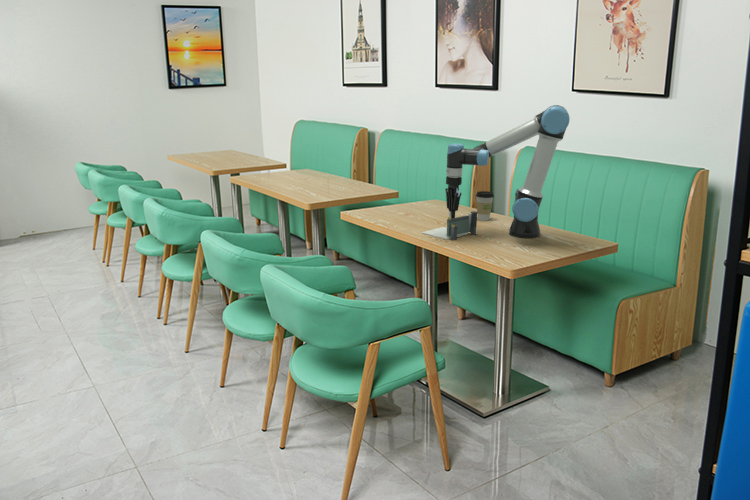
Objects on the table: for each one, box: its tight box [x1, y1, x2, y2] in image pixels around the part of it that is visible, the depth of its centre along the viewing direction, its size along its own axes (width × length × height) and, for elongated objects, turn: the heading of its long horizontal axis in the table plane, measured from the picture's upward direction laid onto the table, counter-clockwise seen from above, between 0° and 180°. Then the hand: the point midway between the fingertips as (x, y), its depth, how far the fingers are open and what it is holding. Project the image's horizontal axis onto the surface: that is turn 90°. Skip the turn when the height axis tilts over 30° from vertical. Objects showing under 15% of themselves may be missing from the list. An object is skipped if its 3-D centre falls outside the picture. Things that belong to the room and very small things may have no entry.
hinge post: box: [469, 210, 478, 236], centre depth 308 cm, size 3×3×12 cm
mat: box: [420, 226, 470, 240], centre depth 312 cm, size 17×17×1 cm
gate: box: [446, 213, 471, 237], centre depth 305 cm, size 16×2×10 cm, turn 129°
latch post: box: [450, 224, 458, 241], centre depth 299 cm, size 2×3×7 cm
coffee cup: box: [475, 190, 495, 222], centre depth 340 cm, size 10×10×15 cm
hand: (451, 223), depth 305 cm, fingers closed
